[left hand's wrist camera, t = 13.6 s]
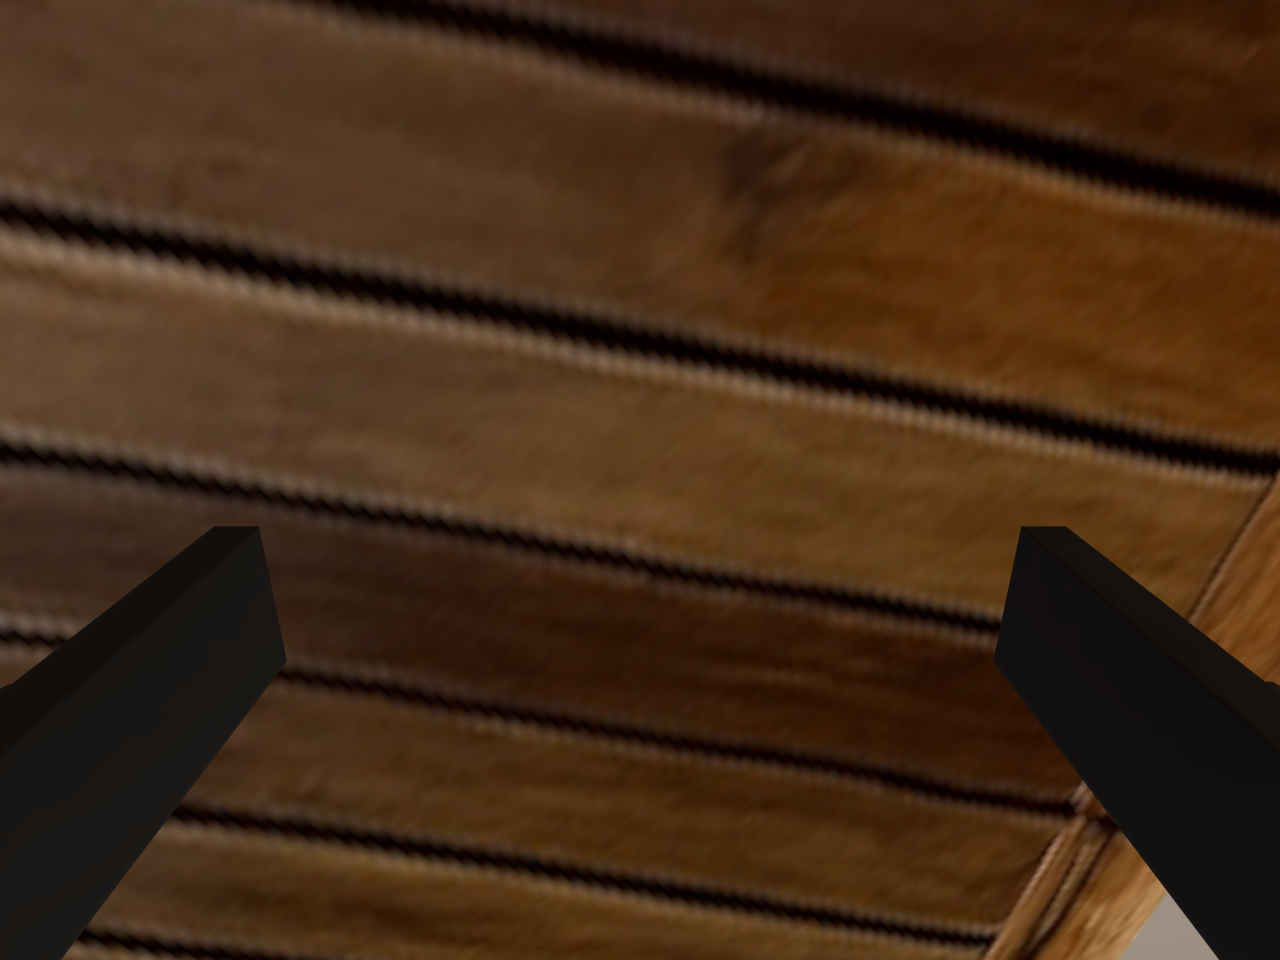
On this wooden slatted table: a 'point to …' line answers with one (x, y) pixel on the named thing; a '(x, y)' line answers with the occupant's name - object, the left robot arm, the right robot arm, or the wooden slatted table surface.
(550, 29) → the wooden slatted table surface
